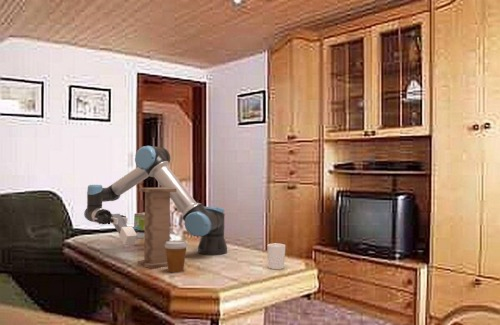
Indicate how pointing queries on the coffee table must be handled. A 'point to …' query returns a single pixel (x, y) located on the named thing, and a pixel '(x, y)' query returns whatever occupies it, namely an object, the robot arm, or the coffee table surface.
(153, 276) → the coffee table surface
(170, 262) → the disposable coffee cup
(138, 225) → the tea box
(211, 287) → the coffee table surface
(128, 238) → the block
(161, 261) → the walnut stand
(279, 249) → the white cup
